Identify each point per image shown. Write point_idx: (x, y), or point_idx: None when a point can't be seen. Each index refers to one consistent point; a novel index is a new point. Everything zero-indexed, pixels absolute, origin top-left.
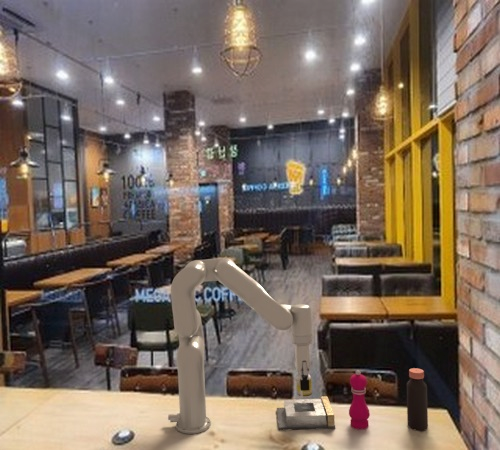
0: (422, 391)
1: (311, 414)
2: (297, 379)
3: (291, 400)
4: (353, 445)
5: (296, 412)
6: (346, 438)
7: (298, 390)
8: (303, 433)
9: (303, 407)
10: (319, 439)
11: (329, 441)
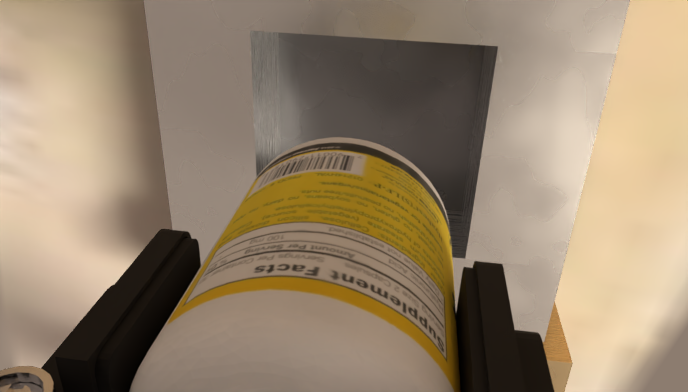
0: None
1: (191, 188)
2: (221, 298)
3: (592, 32)
4: (5, 325)
5: (236, 44)
6: (81, 315)
7: (268, 187)
8: (116, 51)
9: (477, 142)
10: (40, 154)
11: (25, 212)
